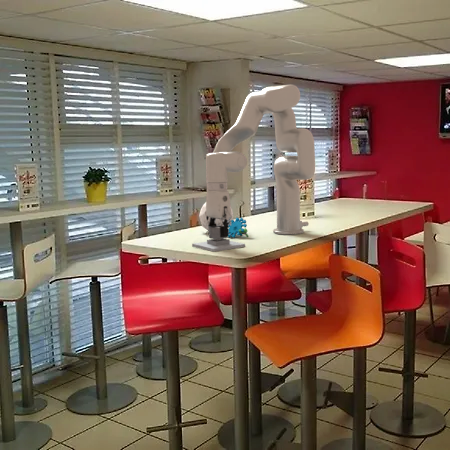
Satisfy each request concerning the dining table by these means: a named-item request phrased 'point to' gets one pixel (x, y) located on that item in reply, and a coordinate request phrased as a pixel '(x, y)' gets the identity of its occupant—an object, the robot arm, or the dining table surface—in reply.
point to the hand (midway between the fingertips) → (218, 235)
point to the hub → (215, 232)
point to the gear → (237, 228)
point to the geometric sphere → (204, 220)
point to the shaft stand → (218, 244)
